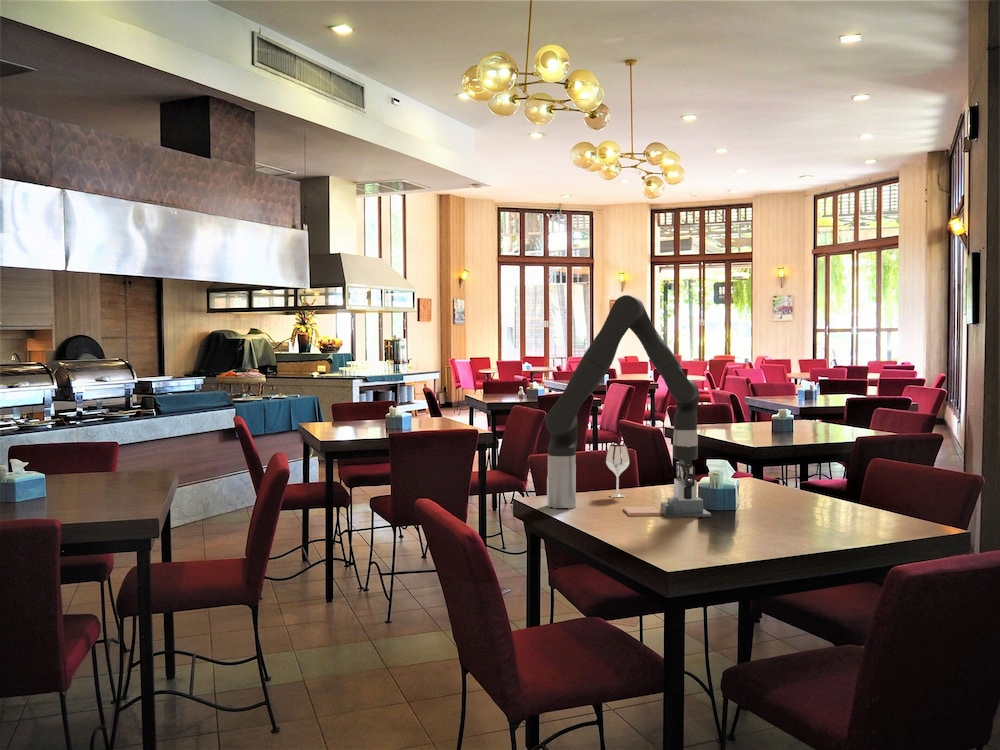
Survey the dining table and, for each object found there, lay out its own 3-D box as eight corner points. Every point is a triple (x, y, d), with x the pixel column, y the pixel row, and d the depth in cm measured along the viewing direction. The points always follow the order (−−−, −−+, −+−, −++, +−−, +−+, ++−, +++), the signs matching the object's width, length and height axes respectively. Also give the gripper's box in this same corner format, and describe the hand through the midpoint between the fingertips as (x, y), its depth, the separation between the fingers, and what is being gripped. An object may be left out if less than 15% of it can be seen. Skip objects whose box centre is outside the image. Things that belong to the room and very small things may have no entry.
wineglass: (630, 498, 296) (630, 446, 295) (607, 498, 296) (607, 446, 296) (627, 494, 304) (627, 444, 304) (604, 494, 304) (604, 444, 304)
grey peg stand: (666, 517, 263) (666, 480, 262) (660, 512, 271) (660, 476, 270) (711, 516, 263) (711, 479, 263) (703, 511, 271) (703, 476, 271)
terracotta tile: (628, 516, 265) (629, 512, 265) (622, 509, 275) (622, 506, 275) (660, 515, 266) (660, 512, 266) (653, 509, 276) (653, 506, 276)
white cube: (678, 500, 264) (678, 481, 264) (674, 497, 270) (674, 478, 269) (696, 500, 264) (696, 481, 264) (691, 497, 270) (691, 478, 270)
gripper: (667, 441, 273) (667, 493, 274) (679, 446, 259) (679, 501, 259) (691, 441, 274) (690, 493, 274) (703, 446, 259) (703, 501, 260)
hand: (685, 497), depth 267 cm, fingers closed on white cube, 5 cm apart
